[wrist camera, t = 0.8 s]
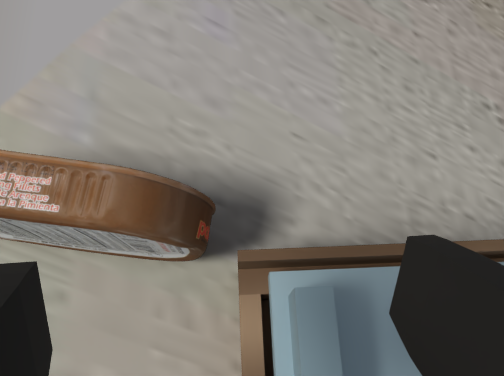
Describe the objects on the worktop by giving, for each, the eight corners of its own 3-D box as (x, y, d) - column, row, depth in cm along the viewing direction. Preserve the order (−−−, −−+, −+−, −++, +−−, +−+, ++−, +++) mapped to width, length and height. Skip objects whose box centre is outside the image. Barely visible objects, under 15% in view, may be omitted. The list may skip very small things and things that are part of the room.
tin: (220, 224, 25) (210, 162, 17) (211, 279, 24) (196, 240, 16) (-37, 189, 25) (-162, 112, 17) (-59, 242, 24) (-203, 185, 16)
